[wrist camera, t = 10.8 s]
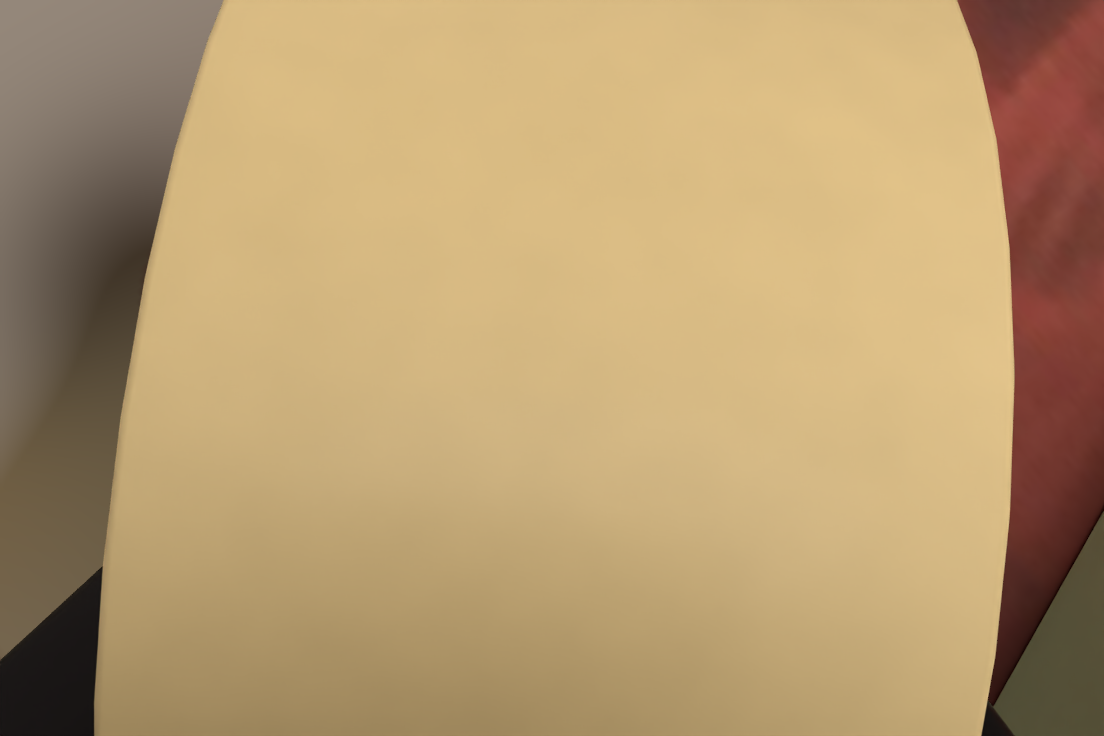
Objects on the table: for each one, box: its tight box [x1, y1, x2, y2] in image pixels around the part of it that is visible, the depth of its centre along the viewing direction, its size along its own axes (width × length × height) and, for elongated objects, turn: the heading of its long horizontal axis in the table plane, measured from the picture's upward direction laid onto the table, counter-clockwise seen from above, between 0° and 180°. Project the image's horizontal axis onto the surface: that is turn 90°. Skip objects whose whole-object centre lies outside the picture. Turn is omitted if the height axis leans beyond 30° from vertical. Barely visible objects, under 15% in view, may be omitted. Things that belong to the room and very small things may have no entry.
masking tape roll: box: [94, 0, 1014, 736], centre depth 10 cm, size 11×5×11 cm, turn 173°
